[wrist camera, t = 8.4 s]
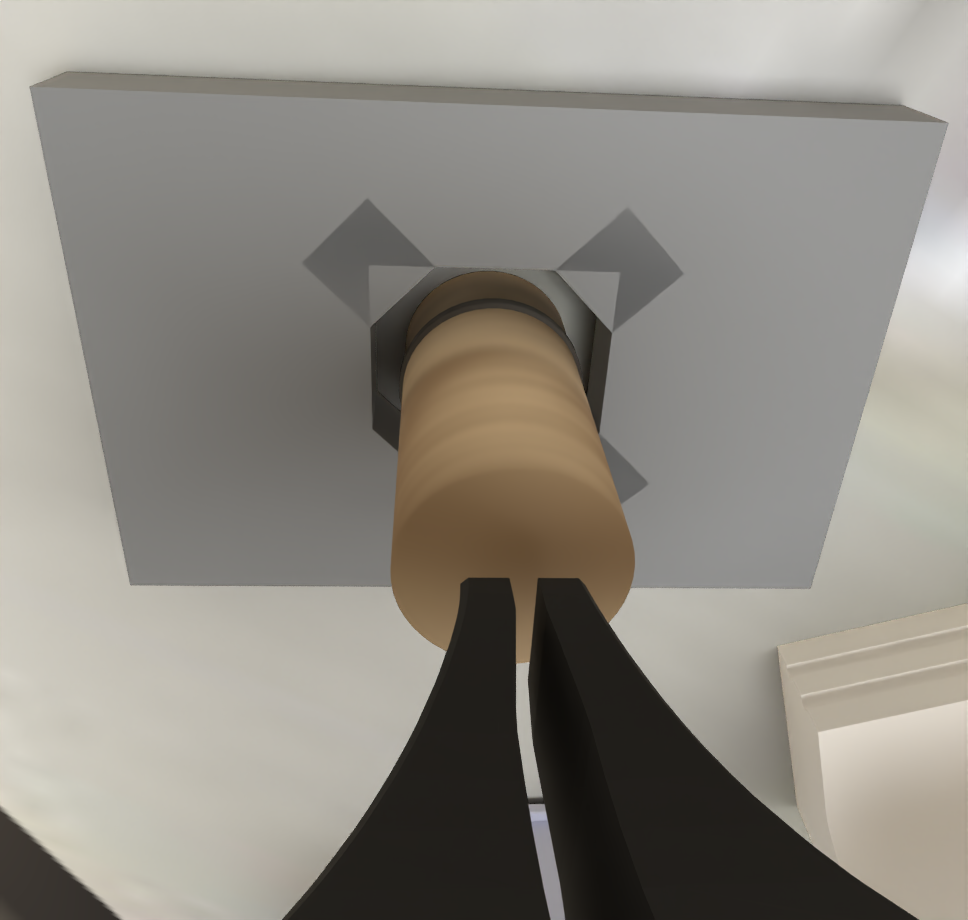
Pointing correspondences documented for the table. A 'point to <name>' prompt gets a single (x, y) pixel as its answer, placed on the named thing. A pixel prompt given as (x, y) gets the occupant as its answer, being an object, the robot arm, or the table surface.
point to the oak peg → (499, 460)
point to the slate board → (472, 244)
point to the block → (886, 754)
